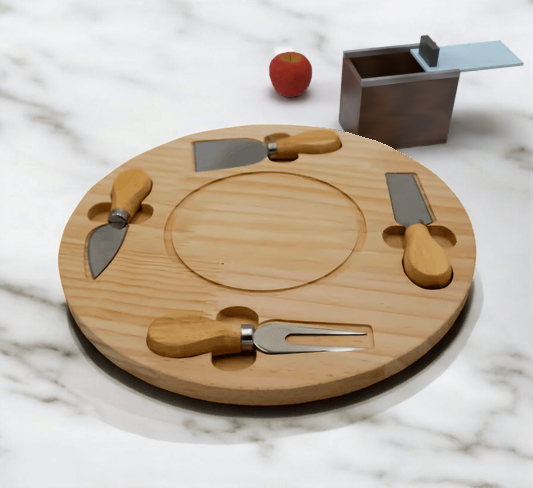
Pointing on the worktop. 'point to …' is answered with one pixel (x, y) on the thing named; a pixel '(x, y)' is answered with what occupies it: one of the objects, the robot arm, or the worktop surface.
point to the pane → (464, 56)
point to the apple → (290, 73)
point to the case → (395, 97)
